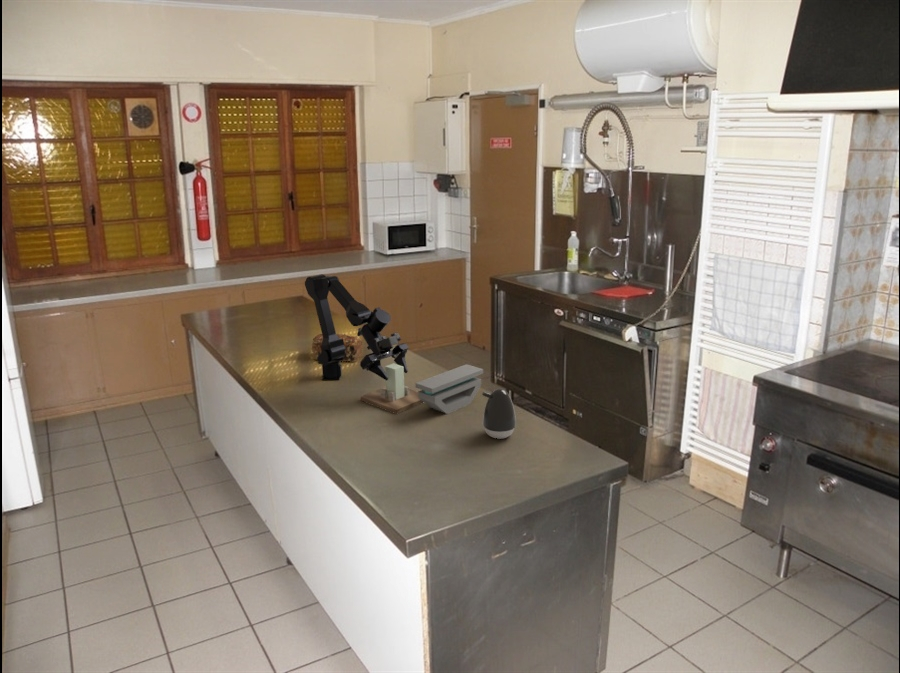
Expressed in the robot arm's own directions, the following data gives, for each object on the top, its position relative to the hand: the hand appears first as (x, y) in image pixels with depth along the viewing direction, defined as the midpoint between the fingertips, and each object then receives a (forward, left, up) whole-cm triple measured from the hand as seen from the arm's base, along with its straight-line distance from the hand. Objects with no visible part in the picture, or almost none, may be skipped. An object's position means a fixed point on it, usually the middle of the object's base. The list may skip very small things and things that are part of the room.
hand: (397, 376), depth 238 cm
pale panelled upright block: (-1, +1, -8) cm, 8 cm away
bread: (-26, +48, -10) cm, 56 cm away
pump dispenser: (+32, -29, -9) cm, 44 cm away
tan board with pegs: (-1, +1, -9) cm, 9 cm away
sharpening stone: (+18, -5, -9) cm, 21 cm away
